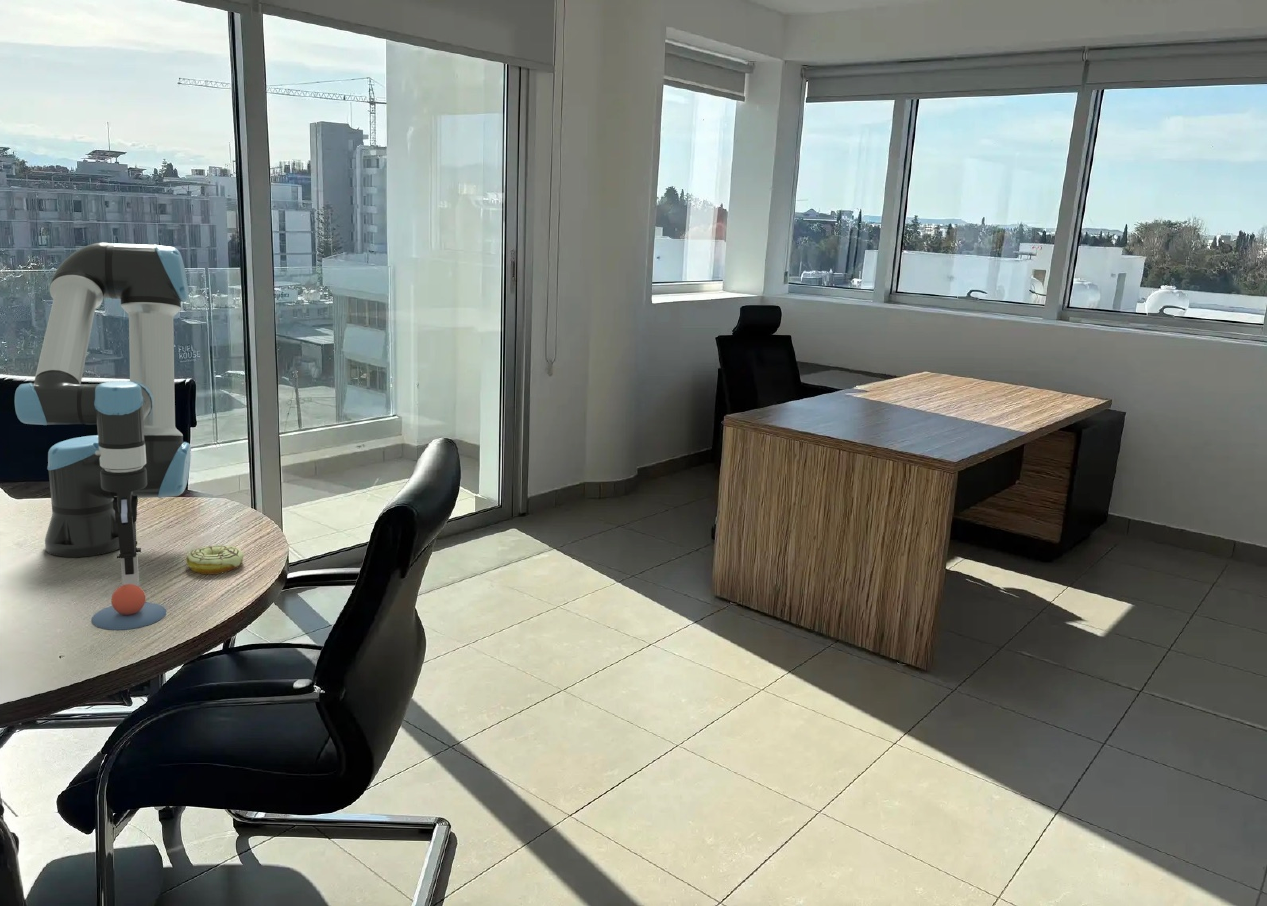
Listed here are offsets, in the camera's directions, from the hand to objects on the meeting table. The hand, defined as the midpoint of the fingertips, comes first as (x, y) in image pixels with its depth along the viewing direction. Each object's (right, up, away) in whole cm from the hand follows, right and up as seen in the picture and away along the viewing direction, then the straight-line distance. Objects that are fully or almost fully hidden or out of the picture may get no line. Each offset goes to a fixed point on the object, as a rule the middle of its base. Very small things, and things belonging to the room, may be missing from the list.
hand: (131, 587), depth 183 cm
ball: (+3, -1, -7) cm, 8 cm away
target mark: (+4, -4, -7) cm, 9 cm away
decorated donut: (+8, +2, +18) cm, 20 cm away
